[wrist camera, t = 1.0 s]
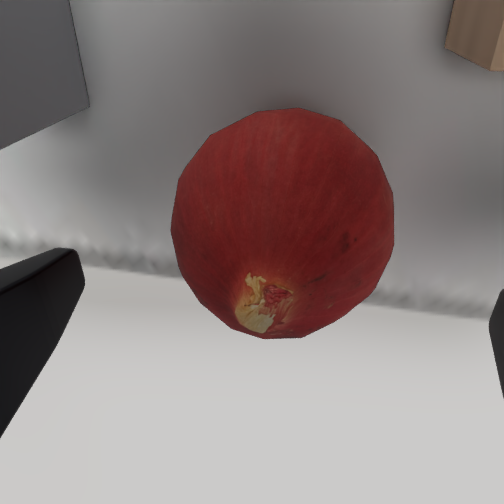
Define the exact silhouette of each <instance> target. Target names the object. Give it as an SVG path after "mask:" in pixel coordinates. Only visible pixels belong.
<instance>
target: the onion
mask: <svg viewBox="0 0 504 504" xmlns="http://www.w3.org/2000/svg"><path fill="white" fill-rule="evenodd" d="M171 235H172V239H173V244H174V248H175V253H176V257H177V262H178V266H179V269H180V271H181V274H182V276H183V278H184V279H185V281H186V282H187V284H188V285H189V287H190V288H191V289H192V291H193V292H194V294H195V296H196V297H197V298H198V300H199V302H200V303H201V304H202V305H203V306H205V307H206V308H207V309H208V310H210V311H211V312H212V313H213V314H214V315H215V316H217V317H218V318H219V319H220V320H221V321H223V322H224V323H225V324H226V325H227V326H229V327H230V328H231V329H234V330H237V331H240V332H243V333H246V334H249V335H252V336H256V337H259V338H262V339H281V338H302V337H305V336H306V335H309V334H311V333H313V332H315V331H317V330H319V329H321V328H323V327H325V326H327V325H329V324H331V323H333V322H335V321H336V320H338V319H340V318H341V317H343V316H344V315H346V314H347V313H348V312H349V311H350V310H352V309H353V308H354V307H355V306H357V305H358V304H359V303H361V302H362V301H363V300H364V299H366V298H367V297H368V296H369V295H370V294H371V293H372V292H373V290H374V289H375V288H376V286H377V284H378V282H379V279H380V277H381V275H382V273H383V271H384V269H385V267H386V265H387V263H388V261H389V259H390V257H391V254H392V250H393V247H394V202H393V192H392V190H391V187H390V185H389V183H388V180H387V178H386V175H385V173H384V171H383V168H382V166H381V163H380V161H379V159H378V156H377V155H376V154H375V153H374V152H373V151H372V149H371V148H370V147H368V146H367V145H366V144H365V143H364V142H363V141H362V140H361V139H360V138H359V137H358V136H357V135H355V134H354V133H353V132H352V131H351V130H350V129H349V128H348V127H347V126H346V125H345V124H343V123H342V122H341V121H340V120H338V119H334V118H331V117H328V116H324V115H321V114H318V113H315V112H311V111H308V110H305V109H302V108H291V109H280V110H269V111H258V112H255V113H253V114H251V115H249V116H247V117H245V118H243V119H242V120H240V121H238V122H236V123H234V124H232V125H230V126H228V127H226V128H224V129H222V130H220V131H218V132H216V133H214V134H212V135H210V136H209V138H208V139H207V140H206V141H205V143H204V144H203V145H202V147H201V148H200V149H199V150H198V152H197V153H196V154H195V156H194V157H193V158H192V159H191V161H190V162H189V163H188V164H187V166H186V167H185V169H184V171H183V173H182V174H181V176H180V178H179V180H178V185H177V191H176V197H175V203H174V208H173V214H172V221H171Z"/></svg>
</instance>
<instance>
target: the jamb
mask: <svg viewBox="0 0 504 504" xmlns="http://www.w3.org/2000/svg"><path fill="white" fill-rule="evenodd" d="M88 107H90V106H89V101H88V96H87V91H86V86H85V81H84V76H83V71H82V66H81V61H80V56H79V51H78V46H77V41H76V36H75V31H74V25H73V20H72V15H71V10H70V5H69V0H0V150H1V149H3V148H5V147H7V146H9V145H11V144H13V143H15V142H17V141H19V140H21V139H23V138H26V137H28V136H30V135H32V134H34V133H36V132H38V131H40V130H42V129H44V128H46V127H48V126H50V125H52V124H54V123H57V122H59V121H61V120H63V119H65V118H67V117H69V116H71V115H73V114H75V113H77V112H79V111H81V110H83V109H85V108H88Z"/></svg>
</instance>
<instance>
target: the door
mask: <svg viewBox="0 0 504 504" xmlns="http://www.w3.org/2000/svg"><path fill="white" fill-rule="evenodd" d="M444 47H445V48H446V49H448V50H450V51H452V52H454V53H456V54H458V55H460V56H462V57H464V58H466V59H468V60H469V61H471V62H473V63H475V64H477V65H479V66H481V67H483V68H485V69H487V70H489V71H504V0H454V4H453V9H452V14H451V18H450V23H449V27H448V32H447V37H446V41H445V46H444Z"/></svg>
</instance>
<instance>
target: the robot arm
mask: <svg viewBox="0 0 504 504" xmlns="http://www.w3.org/2000/svg"><path fill="white" fill-rule="evenodd" d="M84 286H85V278H84V274H83V270H82V266H81V262H80V258H79V255H78V253H77V251H76V250H74V249H70V248H54V249H52V250H49V251H46V252H44V253H41V254H38V255H36V256H33V257H31V258H28V259H25V260H23V261H20V262H17V263H15V264H12V265H10V266H7V267H4V268H2V269H0V438H1V436H2V435H3V433H4V431H5V430H6V428H7V426H8V425H9V423H10V421H11V420H12V418H13V417H14V415H15V413H16V412H17V410H18V408H19V407H20V405H21V403H22V402H23V400H24V399H25V397H26V395H27V393H28V392H29V390H30V389H31V387H32V385H33V384H34V382H35V380H36V379H37V377H38V376H39V374H40V372H41V371H42V369H43V367H44V366H45V364H46V362H47V361H48V359H49V358H50V356H51V354H52V353H53V351H54V349H55V348H56V346H57V344H58V342H59V340H60V338H61V336H62V334H63V332H64V330H65V328H66V326H67V323H68V322H69V319H70V317H71V315H72V313H73V311H74V309H75V307H76V305H77V302H78V300H79V298H80V296H81V294H82V292H83V289H84ZM489 333H490V337H491V342H492V347H493V351H494V356H495V361H496V366H497V370H498V375H499V380H500V385H501V389H502V393H503V397H504V289H502V291H501V292H500V294H499V296H498V299H497V302H496V304H495V307H494V309H493V312H492V315H491V317H490V321H489Z"/></svg>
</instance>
